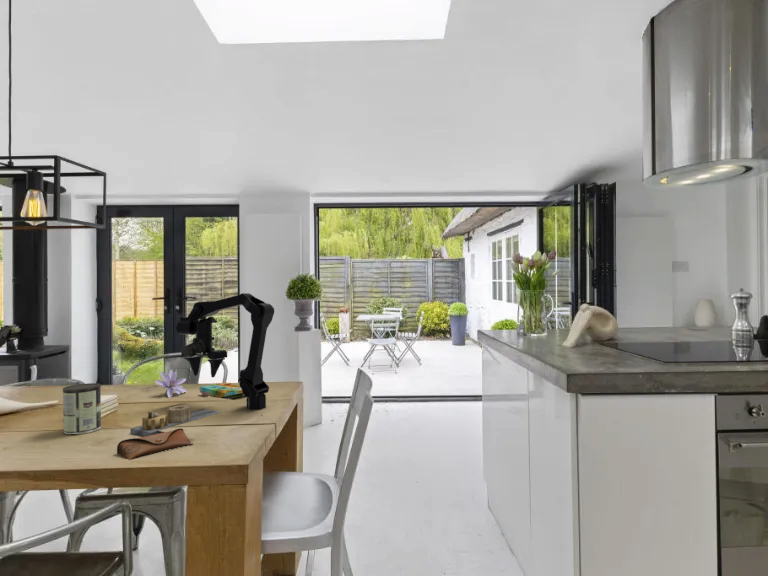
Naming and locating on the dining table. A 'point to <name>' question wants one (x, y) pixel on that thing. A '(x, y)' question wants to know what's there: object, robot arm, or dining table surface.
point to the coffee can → (82, 408)
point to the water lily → (171, 383)
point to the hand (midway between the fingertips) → (204, 376)
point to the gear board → (193, 417)
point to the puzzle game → (222, 390)
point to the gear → (179, 413)
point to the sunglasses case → (152, 444)
